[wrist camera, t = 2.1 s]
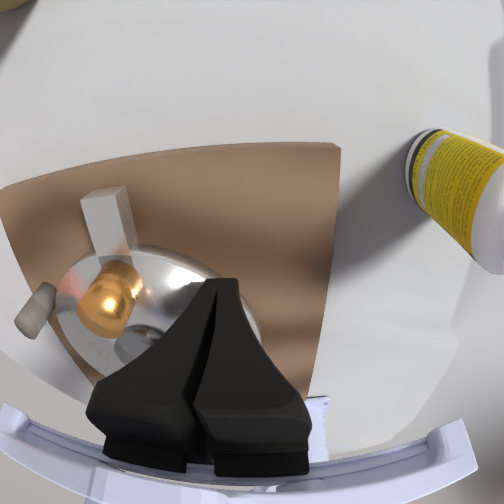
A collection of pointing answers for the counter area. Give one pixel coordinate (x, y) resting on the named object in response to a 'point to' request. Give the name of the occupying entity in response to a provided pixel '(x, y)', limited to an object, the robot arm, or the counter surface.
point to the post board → (198, 232)
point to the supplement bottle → (461, 190)
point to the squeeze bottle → (10, 4)
